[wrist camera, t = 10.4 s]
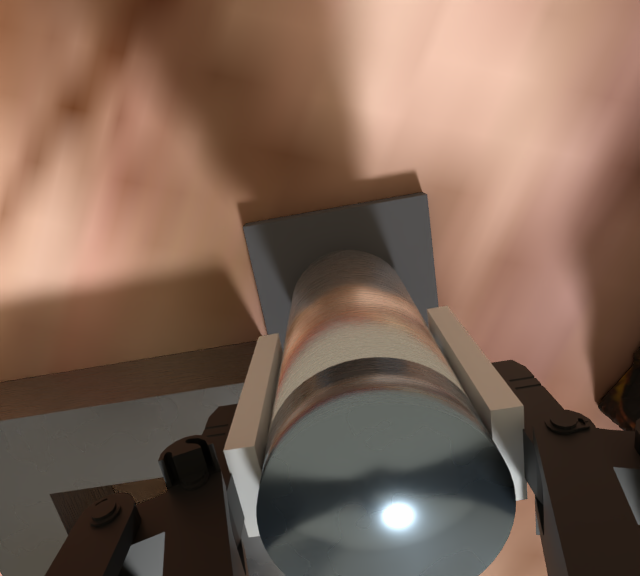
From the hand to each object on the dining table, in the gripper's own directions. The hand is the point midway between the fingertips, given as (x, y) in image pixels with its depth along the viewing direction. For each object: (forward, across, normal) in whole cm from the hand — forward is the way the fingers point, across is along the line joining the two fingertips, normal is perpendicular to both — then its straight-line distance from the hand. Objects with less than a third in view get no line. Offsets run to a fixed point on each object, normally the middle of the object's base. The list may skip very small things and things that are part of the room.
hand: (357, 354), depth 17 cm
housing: (+7, -13, -10) cm, 18 cm away
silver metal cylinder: (+5, 0, 0) cm, 5 cm away
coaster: (+7, 0, 0) cm, 7 cm away
